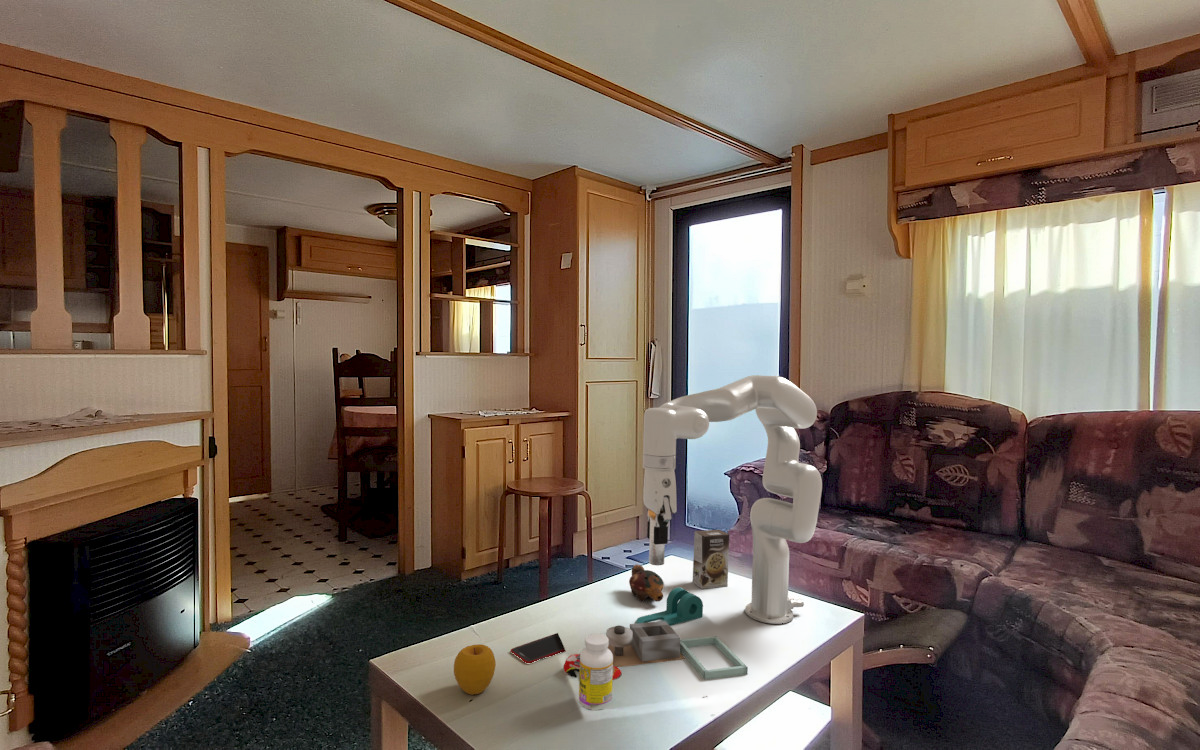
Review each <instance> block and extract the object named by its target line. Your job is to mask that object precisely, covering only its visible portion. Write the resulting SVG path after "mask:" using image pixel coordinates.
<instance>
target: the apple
mask: <svg viewBox="0 0 1200 750" xmlns="http://www.w3.org/2000/svg"><path fill="white" fill-rule="evenodd" d="M496 665H497V661H496V659H495V654H494V651H493V650H492V649H491V647H489V646H487V645H484V644H481V643H480V644H479V643H478V644H472V645H467V646H465V647H463V648H462V649H461V650H460V651H459V652H458V653H457V655H456V656H455V658H454V663H453V674H454V678H455V681H456V683H457V685H458V686H459V688H461V690H462V691H463V692H464V693H466V694H468V695H471V696H472V695H474V694H475V695H478V694H481V693H483V692H484V691H486V689H487V688H488V687H489V685H490V684H491V682H492V680H493V677H494V675H495V670H496Z"/></svg>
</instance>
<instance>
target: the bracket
mask: <svg viewBox="0 0 1200 750" xmlns="http://www.w3.org/2000/svg"><path fill="white" fill-rule="evenodd" d="M703 608H704V605H703V600H702V599H701V598H700V596H697V595H695V594H694V593H692V592H689V591H688V590H686V589H684V588H682V587H680V586H679V587H678V586H677V587H674V588H673V589H672V590H671V591H670V592H669V593H668V595H667V597H666V609H665V610H664V611H660V612H654V613H651V614H648V615H643V616H639V617H637V619H636V620H635V621H636V623H635V624H637V623H647V622H658V621H666V622H667V623H668V624H669V625H670V626H671V627H672V626H674V625H677V624H682V623H685V622H686V623H687V622H689V621H693V620H694V621H695V620H697V619H701V618H703V617H704V615H703V612H704V611H703V610H704V609H703Z"/></svg>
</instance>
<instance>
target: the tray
mask: <svg viewBox="0 0 1200 750" xmlns="http://www.w3.org/2000/svg"><path fill="white" fill-rule="evenodd" d="M711 645H715V646H716V647H717V648H718V649H719V651H720V652H722V653H723V654H724V655H725V657H726V658H728V660H729V661H730V662H731V663H732V664H733V665H734V666H730V667H722V668H713V669H712V668H711V669H707V668H706V667H705V666H704V665H703V664H702V663H701V661H699V659H698V658H697V657H696V656H695V655H694V653H693V652H692V651H691V650H690V648H691V647H701V646H711ZM680 653H681V654H682V655H683V656H684V657H685V659H687V660H688V661H689V663H691V664H690V665H692V666H693V667H694V669H695V670H696V671H697V672H698V673H699V674H700V676H701V677H702V678H703V680H713V679H721V678H727V677H738V676H743V675H745V676H746V675H748V671H749V670H748V669H749V668H748V666H747V664H746V663H744V662H743V660H741V659H740V658H739V656H737V655H736V654H735V653H734V652H733V650H731V649H730V648H729V647H728V646H727V645H726V644H725V643H724V642H723V641H722V640H721V639H720V638H719V637H718V636H717V635H712V636H704V637H703V636H702V637H693V638H684V639H683V638H682V639H680Z"/></svg>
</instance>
